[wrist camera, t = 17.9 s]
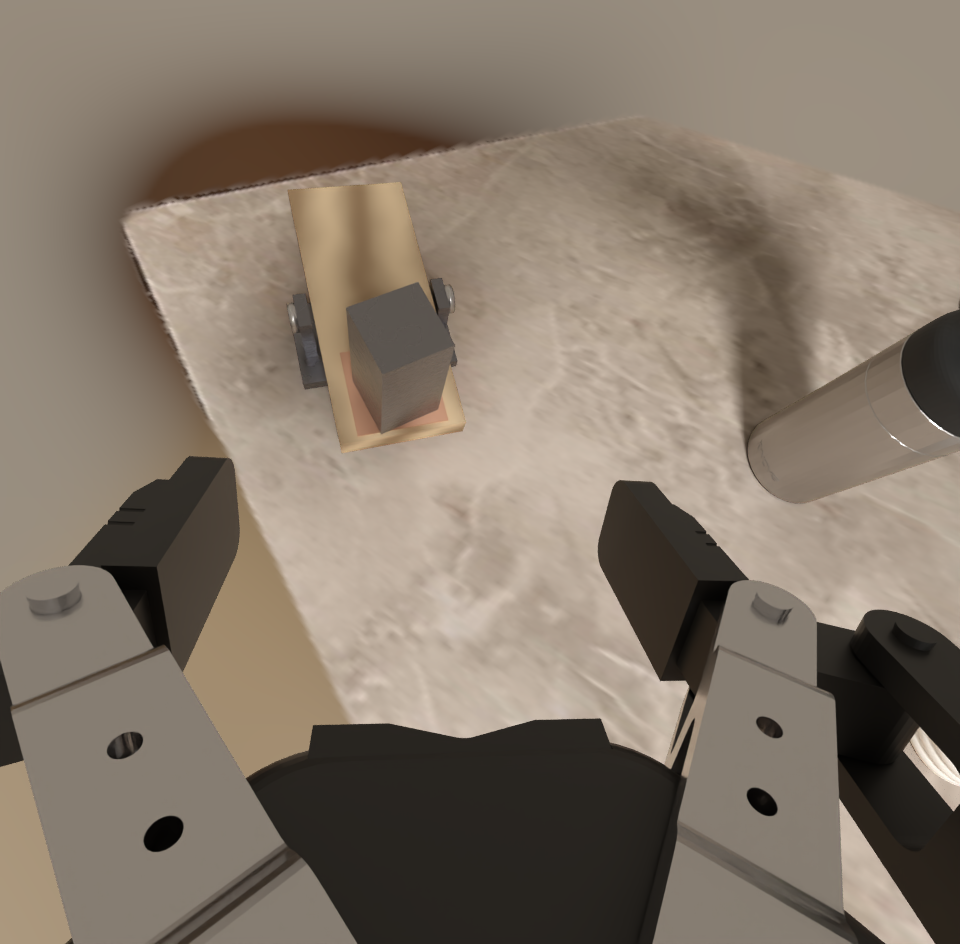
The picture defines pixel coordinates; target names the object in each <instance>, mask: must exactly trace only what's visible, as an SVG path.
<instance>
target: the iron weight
mask: <svg viewBox="0 0 960 944" xmlns="http://www.w3.org/2000/svg"><path fill="white" fill-rule="evenodd" d="M346 315H347V325H348V336H349V347H350V358H351V369H352V380H353V383H354V384H355V386H356V388H357V390H358V392H359V394H360V396H361V398H362V399H363V401H364V403H365V405H366V407H367V409H368V411H369V413H370V414H371V416H372V418H373V420H374V422H375V424H376V426H377V428H378V430H379V431H380V433H381V434H383V433H386V432H388V431H390V430H392V429H395V428H397V427H399V426H402V425H404V424H406V423H408V422H411V421H413V420H415V419H417V418H420V417H422V416H424V415H427V414H429V413H431V412H433V411H436V410H438V408H439V404H440V400H441V397H442V393H443V389H444V385H445V381H446V377H447V374H448V370H449V366H450V362H451V358H452V355H453V351H454V347H455V344H454V343H453V341H452V339H451V337H450V336H449V334H448V332H447V331H446V329H445V327H444V325H443V324H442V322H441V320H440V319H439V317H438V315H437V313H436V312H435V310H434V308H433V306H432V305H431V303H430V301H429V300H428V298H427V296H426V294H425V293H424V291H423V289H422V288H421V286H420V284H419V282H416V283H413V284H410V285H408V286H405V287H402V288H399V289H396V290H394V291H391V292H388V293H385V294H382V295H380V296H377V297H374V298H371V299H368V300H366V301H363V302H360V303H357V304H354V305H352V306H349V307H346Z"/></svg>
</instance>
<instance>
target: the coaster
mask: <svg viewBox="0 0 960 944" xmlns="http://www.w3.org/2000/svg"><path fill="white" fill-rule="evenodd" d="M910 741H911V744H912V746H913V748H914V750H915V751H916V753H917V755H918V756H919V757H920V759H921V760H922V761H923V763H924V764H925V765H926V766H927V767H928V768H929V769H930V770H931V771H932V772H933V773H935V774H936V775H937V776H939V777H940V778H942V779H944V780H945V781H947V782H949V783H951V784H954V785H957V786H960V775H959V773H958V771H957V769H956V768H955V766H954V765H953V764H952V762H951V761H950V760H949V759H948V758H947V757H946V755H945V754H944V753H943V752H942V751H941V750H940V749H939V748H938V747H937V745H936V744H935V743H934V742H933V741H932V740H931V739H930V738H929V737H928V735H927V734H926V733H925V732H924V731H923V730H922V729H921V728H920V727H919V729H918V730H917V731H916V733H915V734H914V736H913V737H912V738H911V740H910Z"/></svg>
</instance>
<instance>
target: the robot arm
mask: <svg viewBox="0 0 960 944" xmlns="http://www.w3.org/2000/svg"><path fill="white" fill-rule="evenodd" d="M958 451H960V310H957V311H953V312H950V313H947V314H945V315H943V316H941V317H939V318H937V319H935V320H933V321H932V322H930V323H928V324H927V325H925V326H923V327H922V328H920V329H918V330H917V331H915V332H913V333H912V334H910V335H908V336H907V337H905V338H903V339H901V340H900V341H898V342H896V343H895V344H893V345H891V346H890V347H888V348H886V349H885V350H883V351H882V352H880V353H878V354H876V355H875V356H873V357H871V358H870V359H868V360H866V361H865V362H863V363H861V364H860V365H858V366H856V367H854V368H853V369H851V370H849V371H848V372H846V373H844V374H843V375H841V376H839V377H837V378H836V379H834V380H832V381H831V382H829V383H827V384H826V385H824V386H822V387H821V388H819V389H817V390H815V391H814V392H812V393H810V394H809V395H807V396H805V397H804V398H802V399H800V400H798V401H797V402H795V403H793V404H792V405H790V406H788V407H786V408H785V409H783V410H781V411H780V412H778V413H776V414H774V415H773V416H771V417H769V418H768V419H766V420H764V421H763V422H761V423H760V424H759V425H758V426H756V427H755V429H754V430H753V432H752V433H751V436H750V438H749V441H748V458H749V462H750V465H751V468H752V470H753V472H754V474H755V476H756V478H757V479H758V480H759V482H760V483H761V484H762V486H764V487H765V488H766V489H767V490H768V491H769V492H770V493H772V494H773V495H775V496H776V497H778V498H780V499H782V500H784V501H787V502H792V503H807V502H810V501H814V500H817V499H820V498H822V497H825V496H828V495H831V494H834V493H837V492H841V491H844V490H847V489H850V488H852V487H855V486H858V485H861V484H864V483H867V482H870V481H873V480H876V479H879V478H882V477H885V476H888V475H891V474H894V473H897V472H899V471H902V470H905V469H908V468H911V467H914V466H917V465H920V464H923V463H926V462H929V461H932V460H935V459H938V458H941V457H944V456H946V455H949V454H952V453H955V452H958ZM239 529H240V528H239V515H238V503H237V491H236V480H235V469H234V464H233V462H232V460H231V459H230V458H214V457H194V456H189V457H188V458H186V460H185V461H184V462H183V463H182V465H181V466H180V467H179V468H178V470H177V471H176V472H175V474H173V476H172V477H171V478H170V479H169V480H161V479H157V480H155V481H153V482H151V483H150V484H148V485H146V486H144V487H142V488H140V489H139V490H137V491H135V492H133V494H131V496H130V497H129V498H128V499H127V500H126V501H125V502H124V504H123V505H122V506H121V507H120V510H119V511H116V512H115V514H114V515H113V516H112V517H111V518H110V519H109V520H108V524H107V525H104V526H103V527H102V528H101V529H100V531H99V532H98V533H97V534H96V535H95V536H94V537H93V539H92V540H91V541H90V542H89V543H88V544H87V545H86V546H85V548H84V549H83V550H82V551H81V552H80V553H79V554H78V555H77V557H76V558H75V559H74V560H73V561H72V562H71V563H70V564H69V566H64V567H57V568H52V569H48V570H44V571H41V572H38V573H35V574H32V575H30V576H27V577H25V578H23V579H21V580H19V581H17V582H15V583H13V584H12V585H10V586H9V587H7V588H6V589H4V590H3V591H2V592H1V593H0V767H1V766H5V765H9V764H12V763H16V762H19V761H23V760H24V762H25V766H26V770H27V773H28V777H29V781H30V784H31V788H32V792H33V795H34V799H35V803H36V807H37V810H38V814H39V818H40V821H41V825H42V829H43V833H44V836H45V840H46V844H47V847H48V851H49V855H50V858H51V862H52V865H53V869H54V873H55V876H56V881H57V884H58V888H59V892H60V895H61V899H62V902H63V906H64V910H65V914H66V917H67V921H68V925H69V929H70V932H71V936H72V938H71V939H70V940H69V941H68V942H67V943H66V944H885V943H884V942H883V941H881V940H880V939H879V938H878V937H877V936H875V935H874V934H873V933H872V932H870V931H869V930H868V929H867V928H866V927H864V926H863V925H862V924H861V923H859V922H858V921H857V920H856V919H855V918H853V917H852V916H851V915H850V914H849V913H847V912H846V911H845V910H844V908H843V888H842V863H841V837H840V811H839V799H840V800H841V802H842V803H843V805H844V806H845V808H846V809H847V811H848V812H849V814H850V815H851V817H852V818H853V820H854V821H855V823H856V824H857V826H858V827H859V829H860V830H861V832H862V833H863V835H864V836H865V838H866V839H867V841H868V842H869V844H870V845H871V847H872V849H873V850H874V852H875V853H876V855H877V856H878V858H879V859H880V861H881V862H882V864H883V865H884V867H885V868H886V870H887V871H888V873H889V874H890V876H891V877H892V879H893V880H894V882H895V883H896V885H897V886H898V888H899V889H900V891H901V892H902V894H903V896H904V897H905V899H906V900H907V902H908V903H909V905H910V906H911V908H912V909H913V911H914V912H915V914H916V915H917V917H918V918H919V920H920V921H921V923H922V924H923V926H924V927H925V929H926V930H927V932H928V933H929V935H930V936H931V938H932V939H933V941H934V943H935V944H960V805H959V806H958V807H957V808H956V809H955V811H954V812H953V811H952V809H951V808H950V807H949V806H948V805H947V803H946V802H945V801H944V800H943V799H942V797H941V796H940V795H939V794H938V792H937V791H936V790H935V789H934V788H933V786H932V785H931V784H930V783H929V782H928V780H927V779H926V778H925V777H924V776H923V774H922V773H921V772H920V771H919V770H918V768H917V767H916V766H915V765H914V764H913V762H912V761H911V760H910V759H909V758H908V756H907V755H906V754H905V753H904V752H903V750H904V748H905V747H906V746H907V744H908V743H909V741H910V740H911V738H912V737H913V736H914V734H915V733H916V731H917V730H918V729H919V727H920V728H921V729H922V730H923V731H924V732H925V733H926V734H927V735H928V737H929V738H930V739H931V740H932V741H933V742H934V743H935V744H936V745H937V747H938V748H939V749H940V750H941V751H942V752H943V753H944V754H945V755H946V757H947V758H948V759H949V760H950V761H951V762H952V764H953V765H954V766H955V768H956V769H957V771H958V773H959V775H960V649H959V648H958V647H957V646H955V645H954V644H953V643H952V642H951V641H950V640H948V639H947V638H946V637H945V636H943V635H942V634H941V633H939V632H938V631H936V630H935V629H933V628H931V627H930V626H928V625H926V624H924V623H922V622H920V621H918V620H916V619H914V618H912V617H909V616H906V615H904V614H900V613H897V612H893V611H888V610H872V611H869V612H867V613H866V614H865V615H864V617H863V619H862V620H861V622H860V624H859V626H858V627H857V629H856V631H853V630H849V629H845V628H840V627H836V626H832V625H828V624H823V623H819V622H816V618H815V616H814V614H813V612H812V611H811V610H810V608H809V607H808V606H807V605H806V604H805V603H803V602H802V601H801V600H800V599H798V598H797V597H796V596H794V595H792V594H791V593H789V592H787V591H785V590H783V589H781V588H779V587H776V586H774V585H771V584H768V583H764V582H760V581H754V580H749V579H748V578H747V577H746V576H745V575H744V574H743V573H742V571H741V570H740V569H739V568H738V567H737V566H736V565H735V563H734V562H733V561H732V560H731V559H730V558H729V557H728V556H727V554H726V553H725V552H724V551H723V550H722V549H721V548H720V547H719V546H717V543H716V542H715V541H714V540H713V539H712V537H711V536H710V535H709V534H706V531H705V530H704V528H703V527H702V526H701V525H700V524H699V523H698V522H697V521H696V519H695V518H694V517H692V516H691V515H689V514H688V513H686V512H685V511H683V510H682V509H680V508H679V507H677V506H676V505H674V504H671V502H670V501H669V500H668V499H667V498H666V497H665V495H664V494H663V493H662V492H661V491H660V490H659V488H658V487H657V486H656V485H655V484H654V483H653V482H643V481H624V480H619V481H617V482H616V483H615V485H614V487H613V489H612V492H611V496H610V499H609V503H608V507H607V511H606V515H605V518H604V522H603V526H602V530H601V533H600V537H599V542H598V558H599V563H600V566H601V568H602V570H603V572H604V574H605V576H606V578H607V580H608V582H609V584H610V586H611V587H612V589H613V591H614V593H615V595H616V597H617V599H618V601H619V603H620V605H621V607H622V609H623V610H624V612H625V614H626V616H627V618H628V620H629V622H630V624H631V626H632V628H633V630H634V631H635V633H636V635H637V637H638V639H639V641H640V643H641V645H642V647H643V649H644V651H645V652H646V654H647V656H648V658H649V660H650V662H651V664H652V666H653V668H654V670H655V672H656V674H657V675H658V677H659V679H660V681H686V682H687V683H688V685H689V688H688V690H687V693H686V695H685V698H684V700H683V703H682V707H681V710H680V714H679V717H678V720H677V724H676V727H675V731H674V734H673V737H672V741H671V744H670V747H669V751H668V754H667V758H666V761H665V764H662V763H660V762H658V761H656V760H655V759H653V758H651V757H649V756H647V755H645V754H642V753H640V752H638V751H635V750H633V749H630V748H627V747H624V746H621V745H618V744H614V743H610V742H609V740H608V737H607V734H606V732H605V729H604V726H603V724H602V721H601V719H561V720H533V721H530V722H526V723H522V724H519V725H515V726H512V727H508V728H504V729H501V730H497V731H494V732H490V733H486V734H483V735H479V736H476V737H472V738H456V737H451V736H446V735H442V734H437V733H432V732H427V731H422V730H417V729H413V728H408V727H403V726H398V725H393V724H348V725H313V729H312V735H311V741H310V747H309V750H308V751H305V752H302V753H298V754H294V755H292V756H289V757H287V758H284V759H281V760H279V761H276V762H274V763H272V764H270V765H268V766H266V767H264V768H262V769H260V770H258V771H257V772H255V773H253V774H252V775H250V776H249V777H247V778H245V776H244V775H243V773H242V771H241V770H240V768H239V766H238V765H237V763H236V761H235V760H234V758H233V756H232V755H231V753H230V751H229V750H228V748H227V746H226V745H225V743H224V741H223V740H222V738H221V737H220V735H219V733H218V731H217V730H216V728H215V726H214V725H213V723H212V721H211V720H210V718H209V716H208V714H207V713H206V711H205V709H204V708H203V706H202V704H201V703H200V701H199V699H198V698H197V696H196V694H195V693H194V691H193V689H192V688H191V686H190V684H189V682H188V681H187V679H186V677H185V676H184V674H183V670H184V668H185V666H186V664H187V662H188V659H189V657H190V655H191V653H192V651H193V649H194V646H195V644H196V642H197V640H198V637H199V635H200V633H201V631H202V629H203V627H204V624H205V622H206V620H207V618H208V616H209V613H210V611H211V609H212V607H213V604H214V602H215V600H216V598H217V596H218V593H219V591H220V589H221V587H222V585H223V583H224V580H225V578H226V576H227V574H228V572H229V569H230V567H231V565H232V563H233V561H234V558H235V556H236V553H237V549H238V543H239V533H240V532H239V531H240V530H239Z"/></svg>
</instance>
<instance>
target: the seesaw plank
mask: <svg viewBox="0 0 960 944" xmlns="http://www.w3.org/2000/svg"><path fill="white" fill-rule="evenodd" d="M288 195H289V200H290V205H291V210H292V215H293V219H294V224H295V229H296V234H297V239H298V244H299V248H300V253H301V258H302V263H303V268H304V273H305V277H306V282H307V287H308V292H309V297H310V302H311V306H312V311H313V316H314V321H315V326H316V331H317V336H318V340H319V345H320V350H321V355H322V360H323V365H324V369H325V374H326V379H327V384H328V389H329V394H330V398H331V403H332V408H333V413H334V418H335V423H336V427H337V432H338V437H339V442H340V447H341V452H342V453H346V452H351V451H357V450H362V449H368V448H373V447H378V446H384V445H389V444H395V443H400V442H406V441H411V440H416V439H422V438H427V437H433V436H438V435H444V434H449V433H454V432H460V431H463V428H464V426H465V423H466V420H465V416H464V413H463V409H462V405H461V402H460V398H459V394H458V391H457V387H456V383H455V380H454V376H453V372H452V369H451V365H450V366H449V370H448V374H447V377H446V381H445V385H444V389H443V393H442V397H441V400H440V404H439V408H438V410H436V411H433V412H431V413H429V414H427V415H424V416H422V417H420V418H417V419H415V420H413V421H411V422H408V423H406V424H404V425H402V426H399V427H397V428H395V429H392V430H390V431H388V432H386V433H383V434H381V433H380V431H379V430H378V428H377V426H376V424H375V422H374V420H373V418H372V416H371V414H370V413H369V411H368V409H367V407H366V405H365V403H364V401H363V399H362V398H361V396H360V394H359V392H358V390H357V388H356V386H355V384H354V383H353V380H352V369H351V358H350V347H349V336H348V325H347V315H346V307H349V306H352V305H354V304H357V303H360V302H363V301H366V300H368V299H371V298H374V297H377V296H380V295H382V294H385V293H388V292H391V291H394V290H396V289H399V288H402V287H405V286H408V285H410V284H413V283H416V282H419V284H420V286H421V288H422V289H423V291H424V293H425V294H426V296H427V298H428V300H429V301H430V303H431V305H432V306H433V308H434V310H435V306H434V302H433V299H432V295H431V291H430V288H429V284H428V280H427V276H426V273H425V269H424V265H423V262H422V258H421V254H420V251H419V247H418V243H417V240H416V236H415V232H414V229H413V225H412V221H411V218H410V214H409V210H408V206H407V203H406V199H405V195H404V192H403V188H402V184H401V182H397V183H382V184H368V185H353V186H338V187H323V188H308V189H293V190H288ZM435 312H436V310H435Z"/></svg>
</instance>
